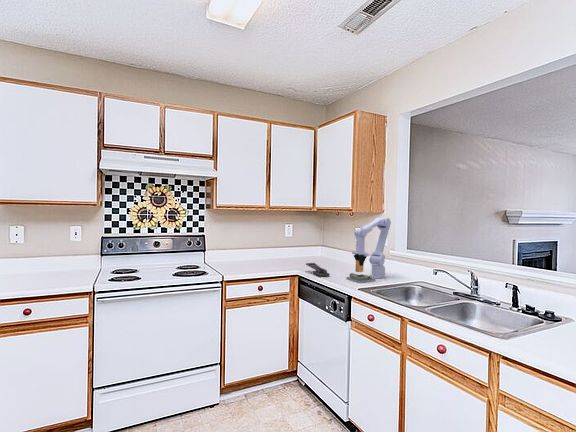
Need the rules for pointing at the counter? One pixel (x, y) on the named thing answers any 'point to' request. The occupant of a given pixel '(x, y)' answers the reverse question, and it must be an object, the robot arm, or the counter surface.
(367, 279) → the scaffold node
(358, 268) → the wooden rectangular peg
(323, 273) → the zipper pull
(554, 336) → the counter surface
